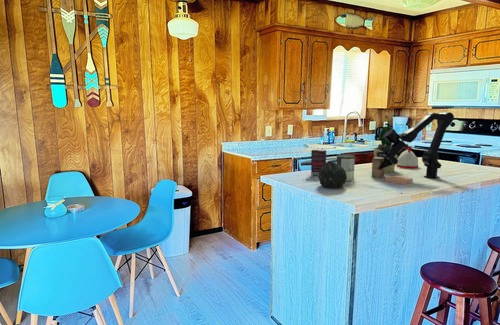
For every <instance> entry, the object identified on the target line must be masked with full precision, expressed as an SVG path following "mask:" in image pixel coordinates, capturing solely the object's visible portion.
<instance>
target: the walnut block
mask: <svg viewBox="0 0 500 325" xmlns="http://www.w3.org/2000/svg"><path fill="white" fill-rule="evenodd" d="M383 161H384V158H381V157H372V160H371V162H372V163H371V164H372V165H371V177H372V178H376V179H380V178H381V179H382V178H384V177H385V172H384V171H385V168H382V169H378V167H379V166H380V165H381V164H382V162H383Z"/></svg>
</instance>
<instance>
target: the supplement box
mask: <svg viewBox="0 0 500 325" xmlns="http://www.w3.org/2000/svg"><path fill="white" fill-rule="evenodd" d="M310 156H311V158H310V159H311V160H310V161H311V162H310V163H311V164H310V166H311V167H310V168H311V169H310V170H311V171H310V174H311V175H310V176H313V175H318V176H319V172H320V170H321V168H322V167H323V166H324V165H325V164H326V163H327V150H326V149H325V150H324V149H311V154H310ZM318 176H317V177H318Z"/></svg>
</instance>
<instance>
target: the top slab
mask: <svg viewBox="0 0 500 325" xmlns="http://www.w3.org/2000/svg"><path fill="white" fill-rule="evenodd" d="M384 181H387V182H386V183H389V182H392V183H393V184H397V185H405V184H410V183H413V181H414V178H412V177H406V176H401V175H394V176H393V175H392V176H387V177H385V178H384Z"/></svg>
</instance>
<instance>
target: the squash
mask: <svg viewBox="0 0 500 325" xmlns="http://www.w3.org/2000/svg"><path fill="white" fill-rule="evenodd" d="M317 178H318V180H319V184H320V185H321V186H322V187H324V188H328V189H330V188H333V189H337V188H338V189H339V188H342V187H343V186H344V184H346V182H347V181H346V179H347V176H346V172H345V170H344V169H343V168H342V167H341V166H340V165H338V164H337V162H334V161H332V160H327V161H326V164H325V165H324V166H323V167H322V168H321V170H320V172H319V176H317Z"/></svg>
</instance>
